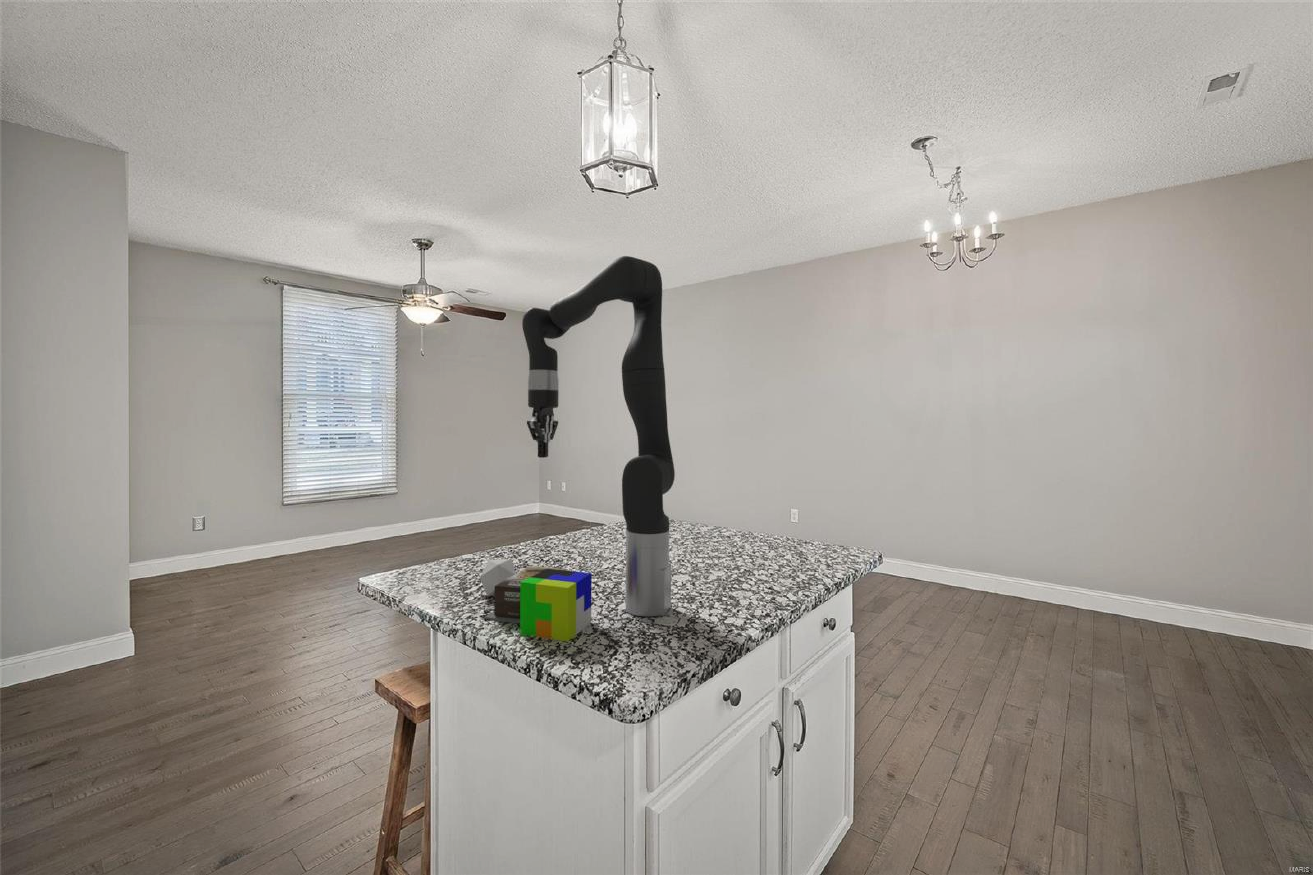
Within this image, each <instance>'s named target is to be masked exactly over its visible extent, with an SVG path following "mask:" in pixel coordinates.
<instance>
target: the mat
mask: <svg viewBox="0 0 1313 875" xmlns="http://www.w3.org/2000/svg"><path fill="white" fill-rule="evenodd" d="M484 620H490V621H500V622H506V623H515V624H520V618H513V617H504V616H495V615H494V610H493V611H492V612H490V613H488V614H487V615H485V616H484Z"/></svg>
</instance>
